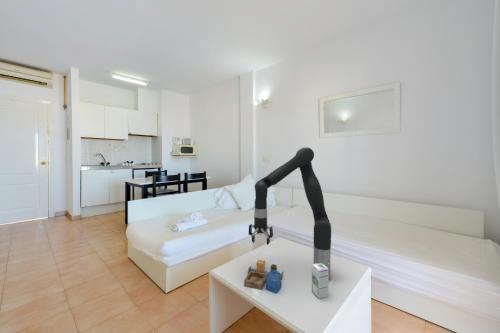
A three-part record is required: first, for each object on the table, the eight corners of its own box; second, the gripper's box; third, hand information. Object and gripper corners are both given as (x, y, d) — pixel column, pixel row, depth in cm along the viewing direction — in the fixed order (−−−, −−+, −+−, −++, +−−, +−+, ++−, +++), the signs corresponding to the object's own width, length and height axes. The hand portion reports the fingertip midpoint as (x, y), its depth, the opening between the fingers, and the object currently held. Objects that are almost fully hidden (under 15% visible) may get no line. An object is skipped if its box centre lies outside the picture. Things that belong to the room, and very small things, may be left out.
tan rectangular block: (264, 270, 123) (264, 260, 123) (262, 274, 119) (262, 263, 119) (252, 268, 126) (252, 258, 125) (250, 271, 122) (250, 261, 122)
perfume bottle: (276, 293, 104) (276, 270, 104) (265, 289, 108) (265, 266, 107) (281, 287, 110) (281, 264, 109) (270, 283, 113) (271, 261, 112)
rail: (283, 276, 120) (283, 271, 120) (281, 280, 116) (282, 275, 116) (250, 270, 126) (250, 266, 126) (248, 273, 122) (248, 269, 122)
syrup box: (328, 296, 102) (329, 267, 102) (318, 299, 101) (318, 269, 100) (321, 289, 108) (321, 262, 107) (311, 291, 106) (311, 263, 105)
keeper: (267, 279, 117) (267, 273, 117) (262, 289, 107) (262, 284, 107) (250, 276, 120) (250, 270, 120) (244, 286, 110) (244, 280, 110)
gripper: (274, 215, 122) (273, 242, 123) (251, 213, 127) (251, 239, 127) (271, 218, 115) (271, 247, 116) (247, 216, 120) (246, 244, 120)
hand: (260, 243), depth 121 cm, fingers open, 8 cm apart
